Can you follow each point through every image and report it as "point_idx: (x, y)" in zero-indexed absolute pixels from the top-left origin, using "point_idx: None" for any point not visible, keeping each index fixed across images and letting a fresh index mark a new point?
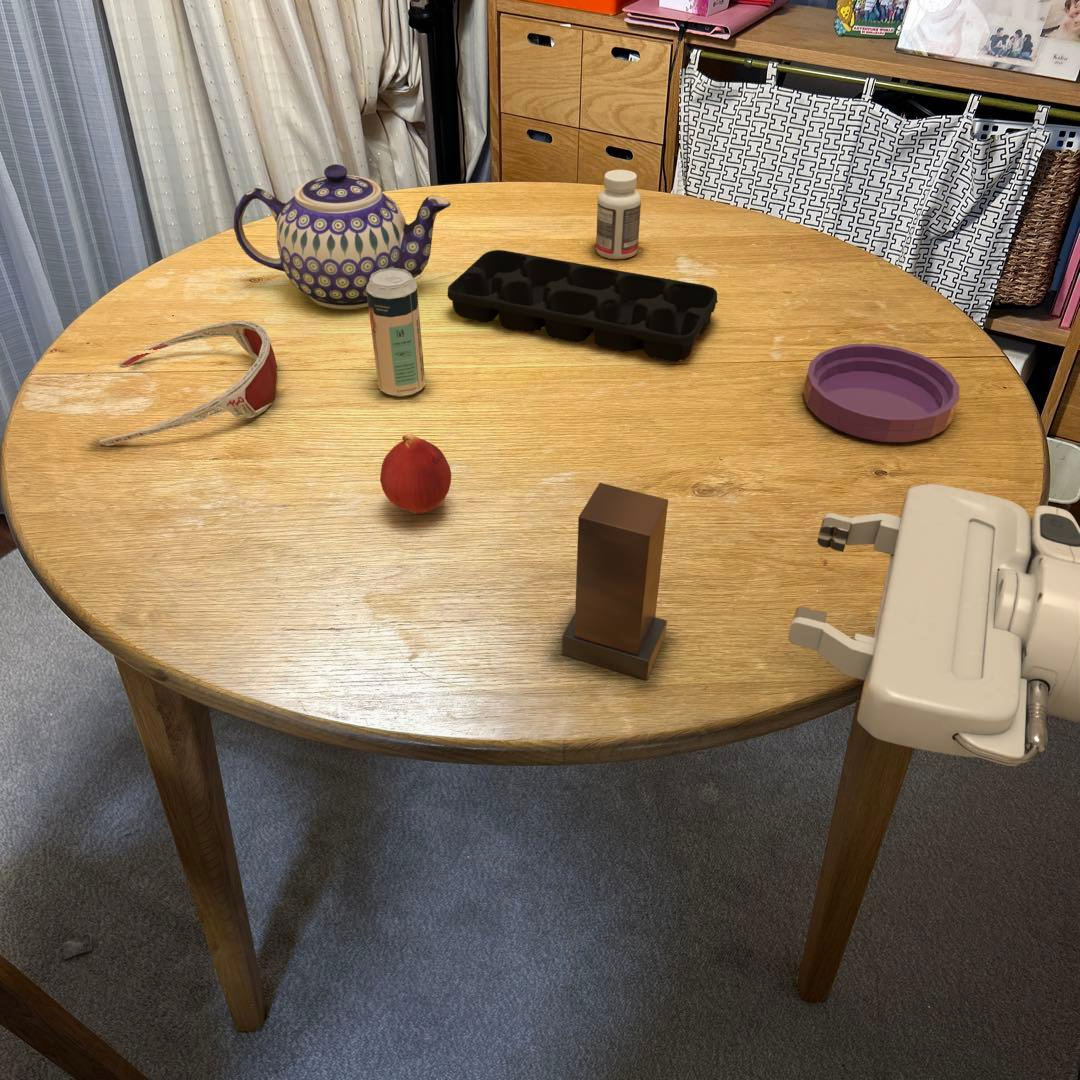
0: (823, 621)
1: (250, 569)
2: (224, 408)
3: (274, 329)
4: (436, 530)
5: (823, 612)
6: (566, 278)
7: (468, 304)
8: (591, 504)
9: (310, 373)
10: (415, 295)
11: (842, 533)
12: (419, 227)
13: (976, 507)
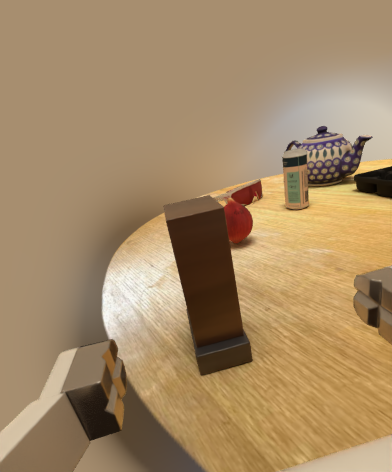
0: (65, 387)
1: (167, 241)
2: (222, 199)
3: (279, 189)
4: (232, 250)
5: (99, 374)
6: None
7: (361, 182)
8: (181, 202)
9: (271, 199)
10: (301, 158)
11: (390, 300)
12: (352, 149)
13: None
